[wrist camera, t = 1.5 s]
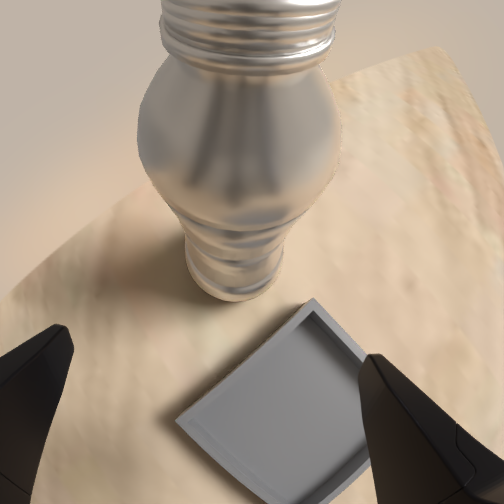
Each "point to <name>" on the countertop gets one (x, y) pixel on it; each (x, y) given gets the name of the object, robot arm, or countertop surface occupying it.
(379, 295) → the countertop surface
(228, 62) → the plastic bottle
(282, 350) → the gray tray
